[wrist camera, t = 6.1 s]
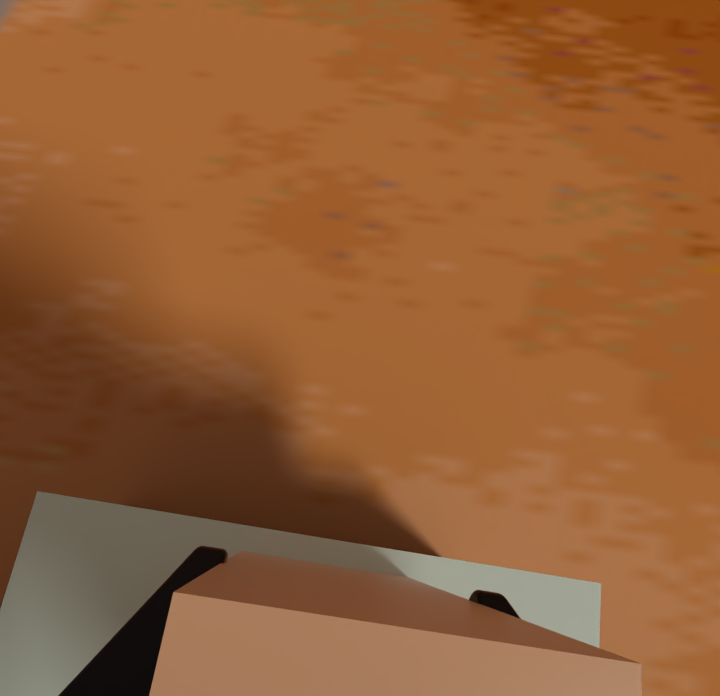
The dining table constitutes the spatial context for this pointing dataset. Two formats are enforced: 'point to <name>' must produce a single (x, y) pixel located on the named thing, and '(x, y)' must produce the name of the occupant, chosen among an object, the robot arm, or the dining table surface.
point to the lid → (291, 613)
